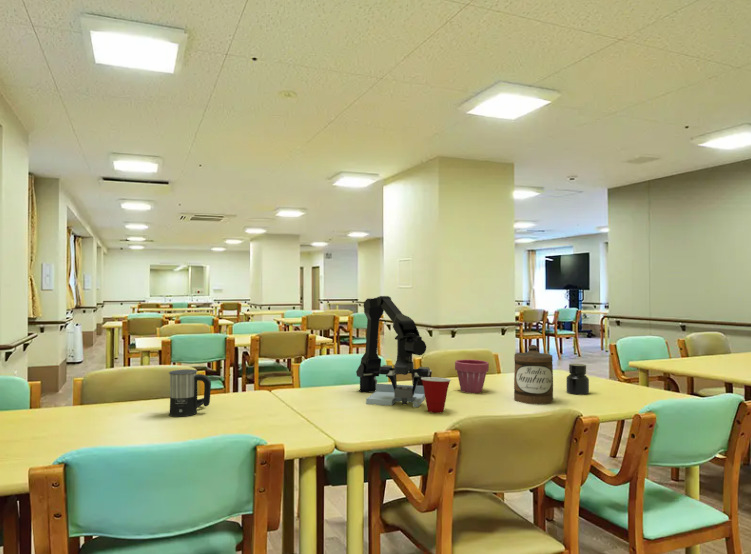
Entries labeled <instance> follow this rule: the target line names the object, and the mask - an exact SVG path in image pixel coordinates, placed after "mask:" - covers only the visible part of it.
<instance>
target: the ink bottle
mask: <svg viewBox="0 0 751 554" xmlns="http://www.w3.org/2000/svg"><path fill="white" fill-rule="evenodd" d="M568 371H569V372H568V373H569V374H568V375H567V376H566V392H567V394H568V393H569V394H571V395H572V394H573V395H578V394H584V395H588V394H589V393H590V379H589V377H588V376H587V375H586V374H587V365H586V364H583V363H569V364H568Z"/></svg>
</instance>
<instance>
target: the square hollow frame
mask: <svg viewBox="0 0 751 554" xmlns="http://www.w3.org/2000/svg"><path fill="white" fill-rule="evenodd" d="M402 388H407V389H402ZM412 390H413V387H402V386H398V387H397V388H395V394H394V397H397V398H412V397H413V396H414V394H413V392H412Z"/></svg>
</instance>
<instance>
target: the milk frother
mask: <svg viewBox="0 0 751 554" xmlns="http://www.w3.org/2000/svg"><path fill="white" fill-rule="evenodd" d="M168 374H169V389H170V390H169V396H170V397H169V412H168V416H170V417H173V418H174V417H175V418H176V417H177V418H179V417H180V418H183V417H189V416H190V417H191V416H195V415H196V414H198V411H197V409H198V408H199V407H201V406H202V405H203V406H204V407H208V406H209V405H210V402H211V391H212V382H211V378H210V377H208V376H207V375H205V374H201V373H200V374H198V370H197V369H175V370H171V371H169V372H168ZM198 381H200V382H203V384H204V387H203V390H204V392H203V397H202V398H198Z"/></svg>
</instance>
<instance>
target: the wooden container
mask: <svg viewBox="0 0 751 554" xmlns="http://www.w3.org/2000/svg"><path fill="white" fill-rule="evenodd" d="M538 349H539V348H538V346H537V345H536V344H531V345H529V346H528V351H526V352H517V353H514V357H513V359H514V377H513V380H514V381H513V389H514V392H513V396H514V397H513V399H514V401H516V402H519V403H523V404H528V405H548V404H552V403H553V402H554V367H553V362H554V361H553V355H552V354H550V353H544V352H542V353H541V352H539V351H538Z"/></svg>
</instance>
